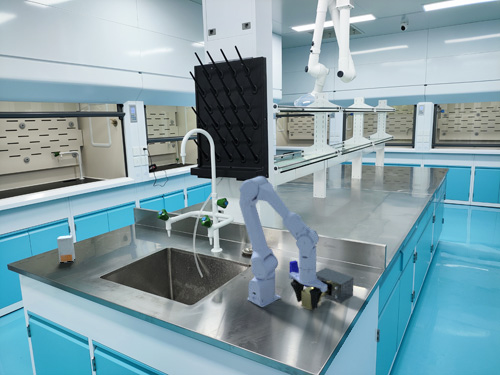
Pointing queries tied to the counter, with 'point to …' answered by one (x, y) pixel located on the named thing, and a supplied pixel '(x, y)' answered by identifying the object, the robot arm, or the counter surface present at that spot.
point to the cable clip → (294, 267)
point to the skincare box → (66, 248)
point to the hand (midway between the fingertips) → (307, 304)
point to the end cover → (309, 297)
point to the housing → (336, 284)
